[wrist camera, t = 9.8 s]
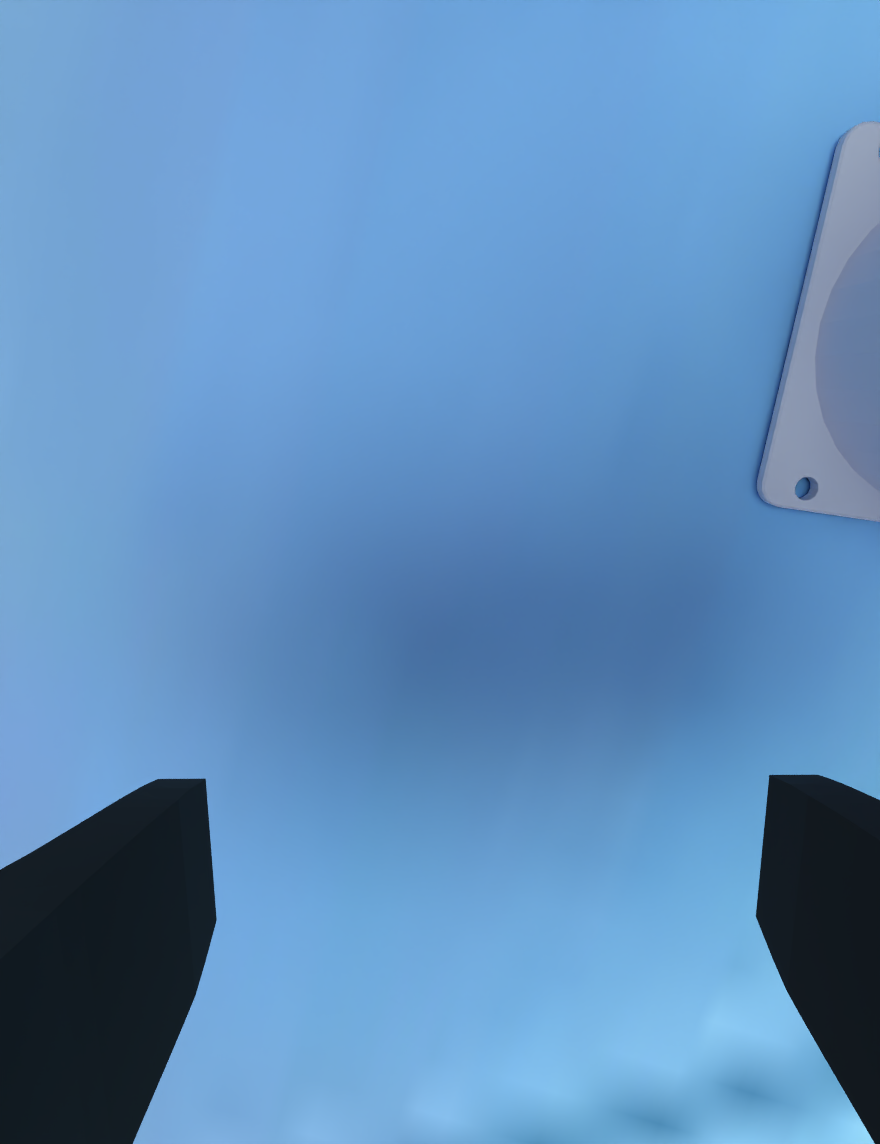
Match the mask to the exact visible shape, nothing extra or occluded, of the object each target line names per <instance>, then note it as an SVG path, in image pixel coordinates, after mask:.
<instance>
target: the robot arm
mask: <svg viewBox="0 0 880 1144" xmlns="http://www.w3.org/2000/svg"><path fill="white" fill-rule="evenodd" d="M879 148H880V122H874V121H872V122H862V123H860V124H858V125H856V126H854V127H853V128H851V129H849V130H848V131H847V132H846V133H845V134H844V135H843V136H842V137H841V138H840V140H839V142H838V144H837V147H836V150H835V154H834V158H833V162H832V167H831V171H830V175H829V179H828V184H827V188H826V192H825V196H824V200H823V205H822V209H821V213H820V217H819V222H818V226H817V230H816V234H815V238H814V243H813V247H812V251H811V255H810V260H809V264H808V268H807V272H806V276H805V281H804V285H803V289H802V293H801V298H800V302H799V306H798V310H797V314H796V319H795V323H794V327H793V331H792V336H791V340H790V344H789V348H788V353H787V357H786V361H785V365H784V369H783V374H782V378H781V382H780V386H779V391H778V395H777V399H776V403H775V407H774V412H773V416H772V420H771V424H770V429H769V433H768V437H767V441H766V445H765V450H764V454H763V458H762V462H761V467H760V471H759V475H758V479H757V491H758V493H759V496H760V497H761V498H762V499H763V500H764V501H765V502H766V503H769V504H772V505H774V506H777V507H782V508H789V509H795V510H802V511H809V512H816V513H823V514H829V515H836V516H843V517H850V518H856V519H863V520H870V521H877V522H880V158H879ZM803 477H807V478H808V479H809V481H810V490H809V492H808V494H806V495H805V496H803V497H801V498H798V497H797V495H796V494H795V486H796V484H797V482H798V481H799V480H801V479H802V478H803ZM756 918H757V920H758V923H759V925H760V928H761V930H762V933H763V935H764V938H765V940H766V943H767V945H768V948H769V950H770V953H771V955H772V958H773V960H774V963H775V965H776V967H777V969H778V972H779V974H780V976H781V979H782V981H783V983H784V985H785V988H786V990H787V992H788V994H789V996H790V997H791V999H792V1001H793V1003H794V1005H795V1006H796V1008H797V1010H798V1012H799V1014H800V1015H801V1017H802V1019H803V1021H804V1022H805V1024H806V1026H807V1028H808V1029H809V1031H810V1033H811V1035H812V1036H813V1038H814V1040H815V1042H816V1043H817V1045H818V1047H819V1049H820V1050H821V1052H822V1054H823V1056H824V1057H825V1059H826V1061H827V1062H828V1064H829V1066H830V1067H831V1069H832V1071H833V1073H834V1074H835V1076H836V1078H837V1079H838V1081H839V1083H840V1085H841V1086H842V1088H843V1090H844V1091H845V1093H846V1095H847V1097H848V1098H849V1100H850V1102H851V1103H852V1105H853V1107H854V1109H855V1110H856V1112H857V1114H858V1115H859V1117H860V1119H861V1121H862V1122H863V1124H864V1126H865V1127H866V1129H867V1131H868V1133H869V1134H870V1136H871V1138H872V1139H873V1141H874V1143H875V1144H880V800H878V799H876V798H874V797H872V796H869V795H867V794H865V793H863V792H861V791H858V790H856V789H854V788H852V787H849V786H847V785H844V784H842V783H839V782H837V781H834V780H832V779H829V778H826V777H823V776H820V775H769V785H768V796H767V806H766V817H765V827H764V837H763V848H762V858H761V869H760V879H759V890H758V900H757V910H756ZM215 924H216V908H215V895H214V882H213V869H212V856H211V843H210V830H209V817H208V804H207V791H206V779H157V780H155V781H153V782H150V783H148V784H146V785H144V786H142V787H140V788H138V789H137V790H135V791H133V792H131V793H130V794H128V795H126V796H124V797H123V798H121V799H119V800H118V801H116V802H114V803H113V804H111V805H109V806H108V807H106V808H104V809H103V810H101V811H99V812H98V813H96V814H94V815H93V816H91V817H89V818H88V819H86V820H85V821H83V822H81V823H80V824H78V825H76V826H75V827H73V828H71V829H70V830H68V831H66V832H65V833H63V834H61V835H60V836H58V837H56V838H55V839H53V840H51V841H50V842H48V843H46V844H45V845H43V846H41V847H40V848H38V849H36V850H35V851H33V852H31V853H30V854H28V855H26V856H24V857H22V858H21V859H19V860H17V861H15V862H13V863H11V864H10V865H8V866H6V867H4V868H2V869H1V870H0V1144H133V1141H134V1139H135V1137H136V1134H137V1132H138V1130H139V1127H140V1125H141V1123H142V1120H143V1118H144V1116H145V1113H146V1111H147V1109H148V1106H149V1104H150V1102H151V1099H152V1097H153V1095H154V1092H155V1090H156V1088H157V1085H158V1083H159V1081H160V1078H161V1076H162V1074H163V1071H164V1069H165V1067H166V1064H167V1062H168V1060H169V1057H170V1055H171V1053H172V1050H173V1048H174V1046H175V1043H176V1041H177V1038H178V1036H179V1034H180V1031H181V1029H182V1027H183V1024H184V1022H185V1019H186V1017H187V1015H188V1012H189V1010H190V1007H191V1005H192V1002H193V1000H194V997H195V995H196V992H197V988H198V985H199V981H200V978H201V975H202V971H203V968H204V964H205V961H206V957H207V954H208V950H209V946H210V942H211V939H212V935H213V931H214V928H215Z"/></svg>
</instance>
